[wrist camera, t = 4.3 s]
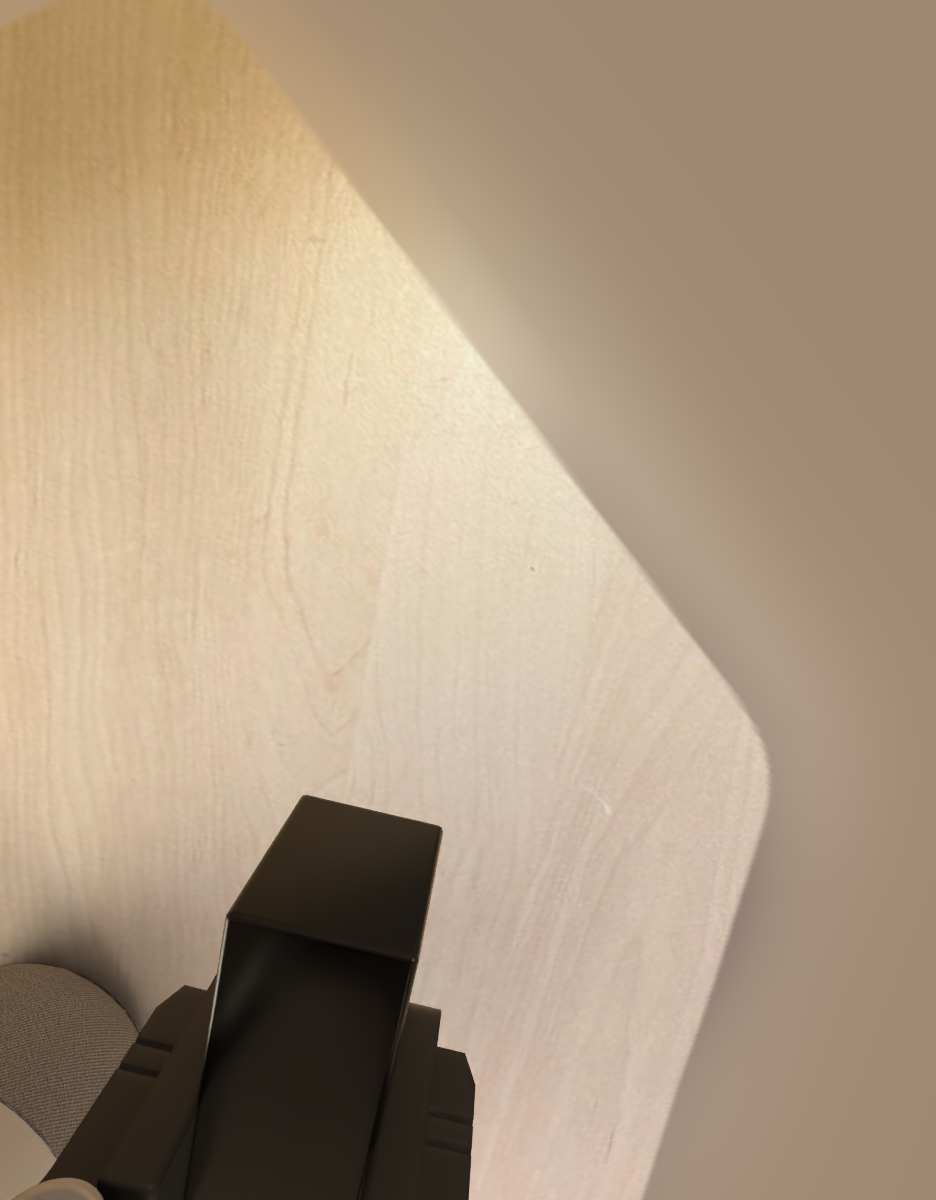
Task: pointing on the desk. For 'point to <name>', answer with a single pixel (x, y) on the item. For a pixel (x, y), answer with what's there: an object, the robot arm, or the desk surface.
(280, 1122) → the knife
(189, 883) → the desk surface
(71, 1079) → the smart speaker
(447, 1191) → the robot arm
